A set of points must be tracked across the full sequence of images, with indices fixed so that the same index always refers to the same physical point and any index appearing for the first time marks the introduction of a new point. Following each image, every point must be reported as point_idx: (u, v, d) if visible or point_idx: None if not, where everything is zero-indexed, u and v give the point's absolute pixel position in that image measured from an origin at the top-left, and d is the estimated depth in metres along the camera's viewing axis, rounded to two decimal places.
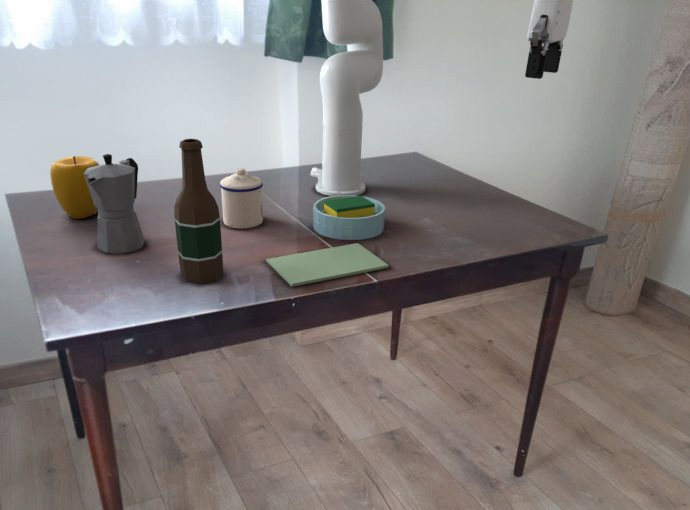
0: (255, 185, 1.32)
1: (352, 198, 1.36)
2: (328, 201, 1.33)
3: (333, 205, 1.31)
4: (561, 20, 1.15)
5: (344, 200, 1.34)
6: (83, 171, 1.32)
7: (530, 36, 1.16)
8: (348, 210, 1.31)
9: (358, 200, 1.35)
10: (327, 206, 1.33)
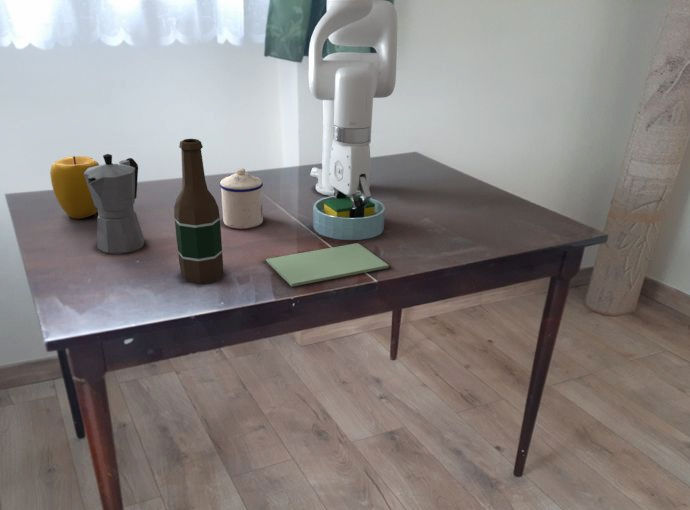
0: (255, 185, 1.32)
1: None
2: (328, 201, 1.33)
3: (333, 205, 1.31)
4: None
5: (344, 200, 1.34)
6: (83, 171, 1.32)
7: (353, 192, 1.27)
8: (348, 210, 1.31)
9: None
10: (327, 206, 1.33)
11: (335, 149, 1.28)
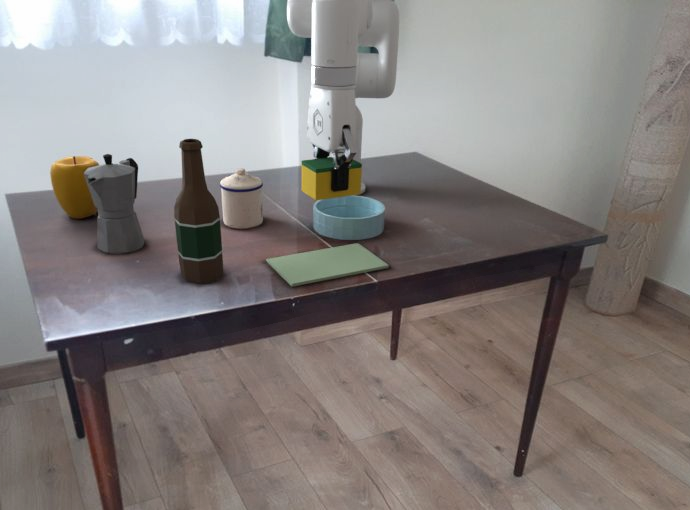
0: (255, 185, 1.32)
1: None
2: (306, 161, 1.11)
3: (312, 165, 1.09)
4: None
5: (325, 160, 1.12)
6: (83, 171, 1.32)
7: (335, 148, 1.05)
8: (330, 170, 1.09)
9: None
10: (304, 167, 1.11)
11: (314, 96, 1.06)
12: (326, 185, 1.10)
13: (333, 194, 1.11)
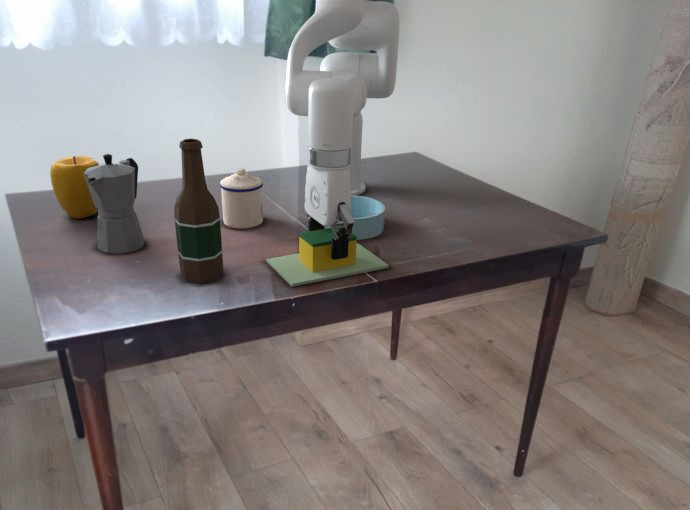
0: (255, 185, 1.32)
1: (331, 229, 1.19)
2: (304, 234, 1.17)
3: (309, 238, 1.15)
4: None
5: (322, 232, 1.18)
6: (83, 171, 1.32)
7: (331, 223, 1.10)
8: (326, 244, 1.14)
9: None
10: (302, 239, 1.17)
11: (311, 173, 1.11)
12: (323, 258, 1.15)
13: (329, 265, 1.17)
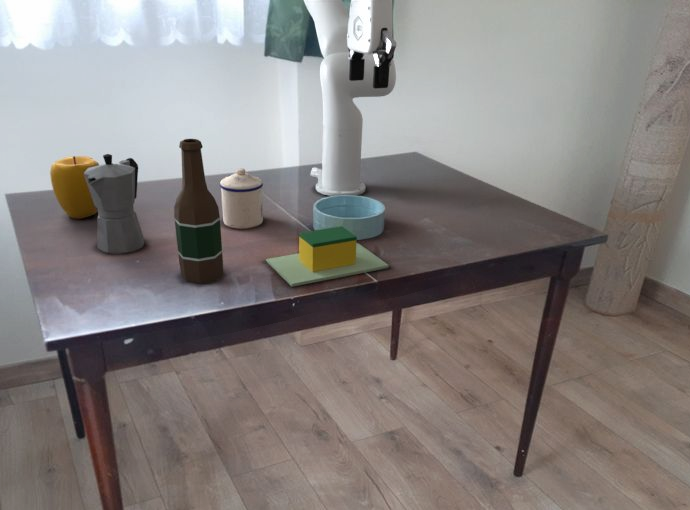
0: (255, 185, 1.32)
1: (331, 229, 1.19)
2: (304, 234, 1.17)
3: (309, 238, 1.15)
4: None
5: (322, 232, 1.18)
6: (83, 171, 1.32)
7: (374, 49, 1.19)
8: (326, 244, 1.14)
9: (338, 232, 1.18)
10: (302, 239, 1.17)
11: (355, 4, 1.20)
12: (323, 258, 1.15)
13: (329, 265, 1.17)
